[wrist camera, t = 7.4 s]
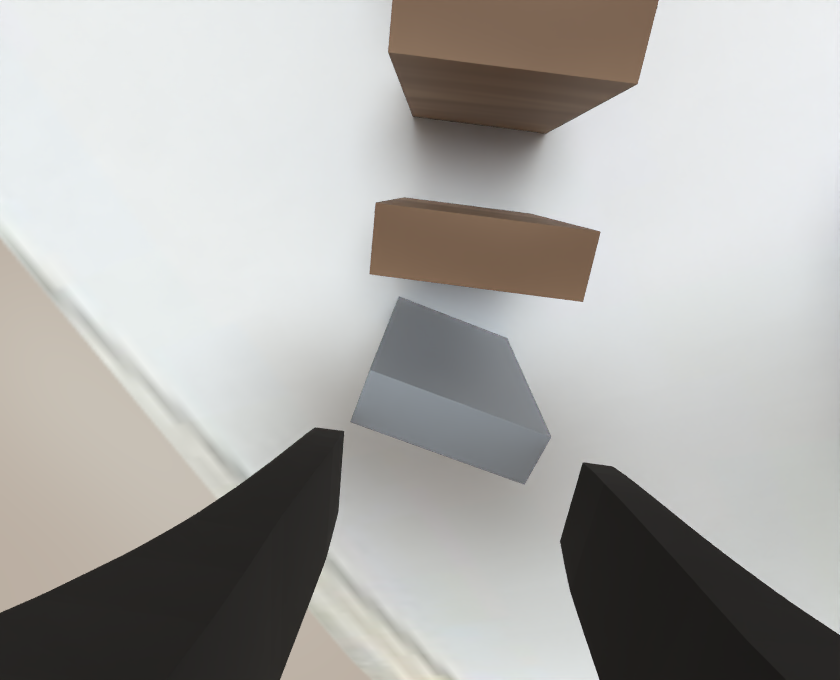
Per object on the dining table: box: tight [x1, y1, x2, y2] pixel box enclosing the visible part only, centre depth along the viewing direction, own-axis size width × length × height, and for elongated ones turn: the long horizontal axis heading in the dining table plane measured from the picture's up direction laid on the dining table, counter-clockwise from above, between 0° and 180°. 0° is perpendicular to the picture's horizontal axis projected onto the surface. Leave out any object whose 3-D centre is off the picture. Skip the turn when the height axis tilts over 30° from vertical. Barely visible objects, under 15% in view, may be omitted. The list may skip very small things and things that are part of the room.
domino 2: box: [370, 197, 600, 302], centre depth 14 cm, size 2×5×8 cm, turn 83°
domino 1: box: [388, 0, 659, 133], centre depth 12 cm, size 2×5×8 cm, turn 83°
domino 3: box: [351, 297, 551, 484], centre depth 15 cm, size 2×5×8 cm, turn 69°
